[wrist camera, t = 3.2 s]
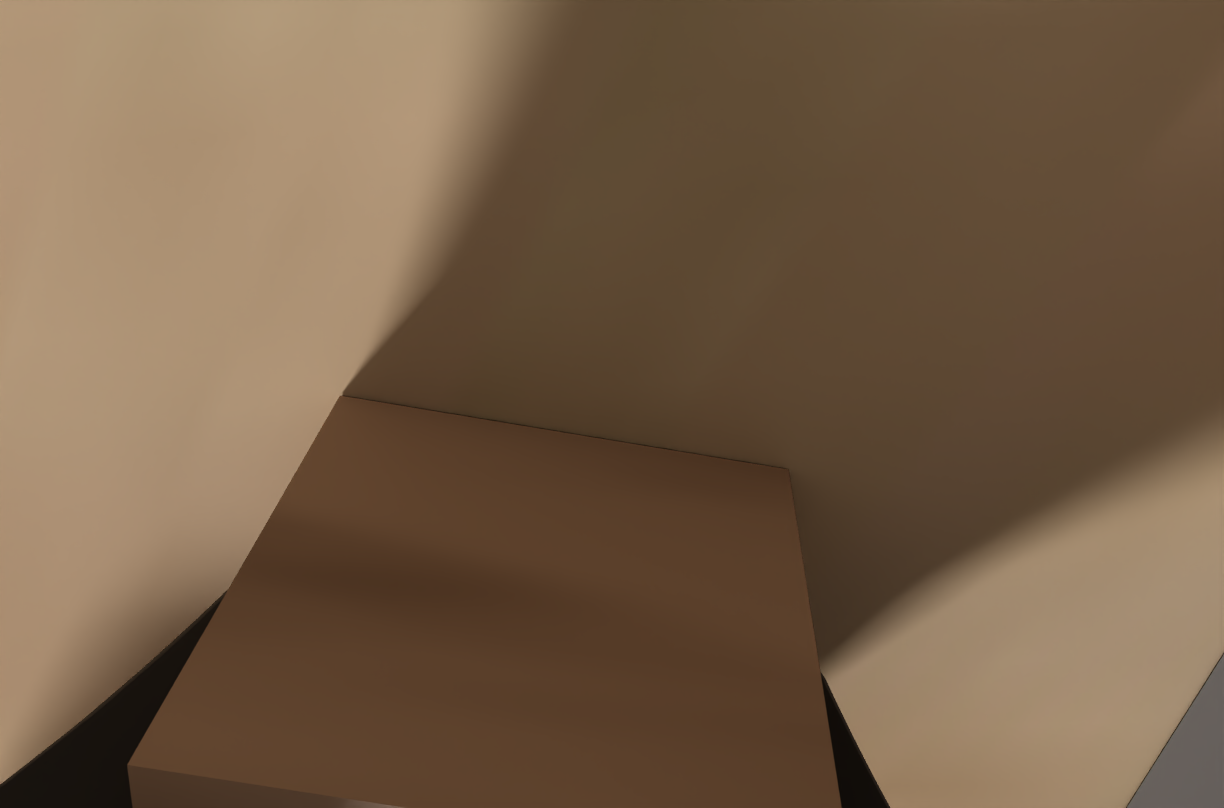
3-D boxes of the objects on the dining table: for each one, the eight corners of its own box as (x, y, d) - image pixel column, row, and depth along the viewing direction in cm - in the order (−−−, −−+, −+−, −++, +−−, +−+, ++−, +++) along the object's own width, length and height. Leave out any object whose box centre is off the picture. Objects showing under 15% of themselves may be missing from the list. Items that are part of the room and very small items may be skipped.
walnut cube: (699, 770, 14) (707, 1203, 10) (332, 713, 14) (173, 1126, 9) (788, 469, 11) (851, 875, 7) (339, 394, 11) (127, 765, 7)
